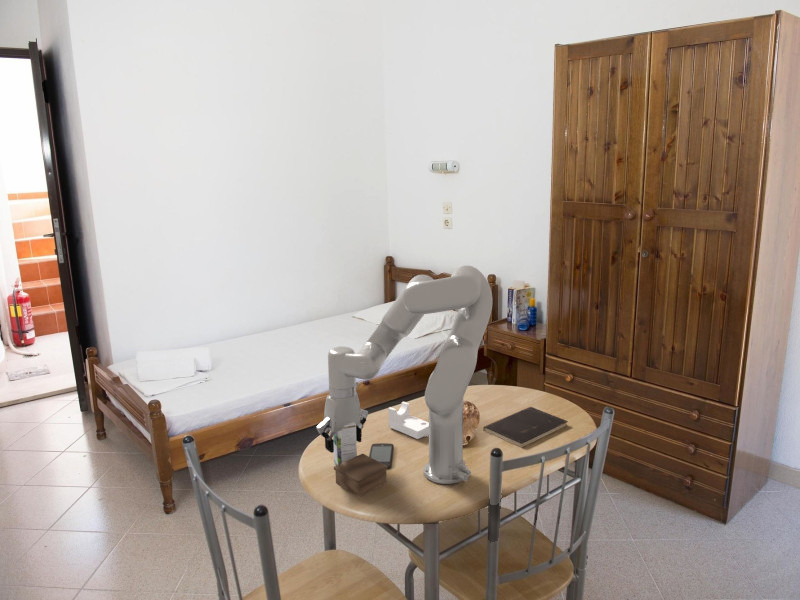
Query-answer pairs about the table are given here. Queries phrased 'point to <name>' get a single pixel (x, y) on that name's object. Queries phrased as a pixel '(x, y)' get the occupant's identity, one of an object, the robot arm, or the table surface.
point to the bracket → (407, 422)
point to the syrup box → (345, 444)
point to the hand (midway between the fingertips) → (343, 445)
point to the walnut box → (361, 474)
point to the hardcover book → (525, 426)
